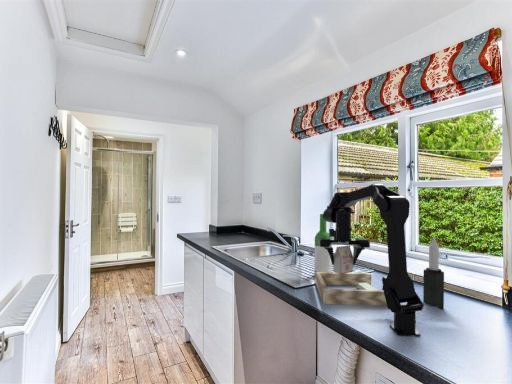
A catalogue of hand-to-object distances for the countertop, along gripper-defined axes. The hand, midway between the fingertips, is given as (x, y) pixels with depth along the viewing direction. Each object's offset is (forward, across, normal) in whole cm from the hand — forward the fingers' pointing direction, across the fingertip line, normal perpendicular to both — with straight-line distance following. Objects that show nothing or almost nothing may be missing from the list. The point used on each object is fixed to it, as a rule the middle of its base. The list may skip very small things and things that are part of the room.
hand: (343, 264), depth 114 cm
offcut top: (+11, -10, 0) cm, 15 cm away
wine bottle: (+12, +4, -23) cm, 27 cm away
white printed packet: (+3, 0, 0) cm, 3 cm away
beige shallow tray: (+12, -2, 0) cm, 13 cm away
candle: (+13, -30, +8) cm, 33 cm away
